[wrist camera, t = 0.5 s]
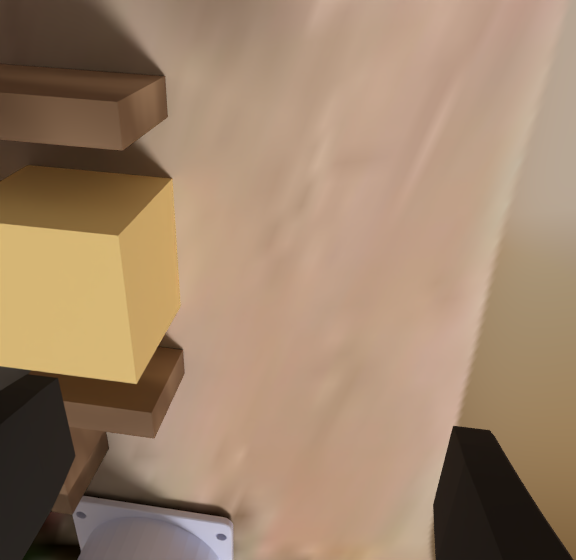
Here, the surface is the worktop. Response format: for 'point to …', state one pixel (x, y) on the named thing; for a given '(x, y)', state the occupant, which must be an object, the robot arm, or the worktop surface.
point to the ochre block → (86, 271)
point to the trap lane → (104, 135)
